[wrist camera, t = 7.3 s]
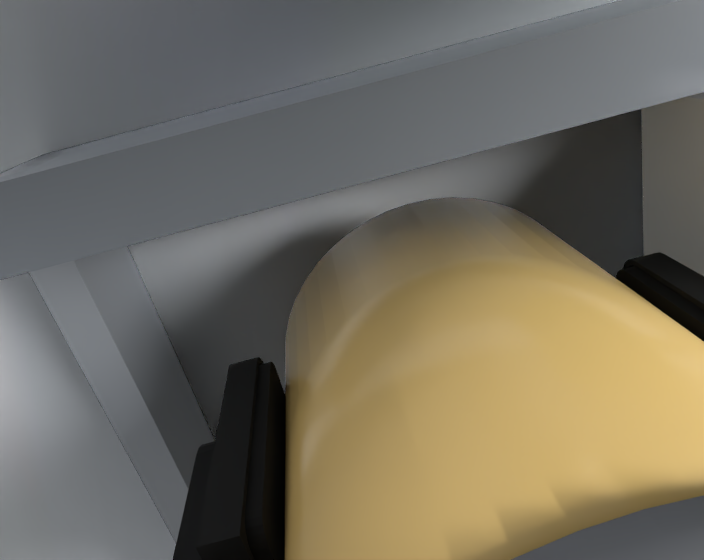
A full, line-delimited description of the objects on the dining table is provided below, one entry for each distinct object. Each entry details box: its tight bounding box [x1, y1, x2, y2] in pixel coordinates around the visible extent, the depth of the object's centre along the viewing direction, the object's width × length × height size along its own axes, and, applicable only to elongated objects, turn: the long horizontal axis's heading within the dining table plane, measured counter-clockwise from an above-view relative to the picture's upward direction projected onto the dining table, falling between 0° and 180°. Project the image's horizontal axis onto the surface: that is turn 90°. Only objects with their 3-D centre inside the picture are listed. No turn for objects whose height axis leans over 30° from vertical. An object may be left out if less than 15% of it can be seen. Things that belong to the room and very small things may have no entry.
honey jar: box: [285, 197, 704, 560], centre depth 8 cm, size 7×7×8 cm
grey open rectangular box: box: [0, 0, 704, 543], centre depth 10 cm, size 11×20×6 cm, turn 104°
